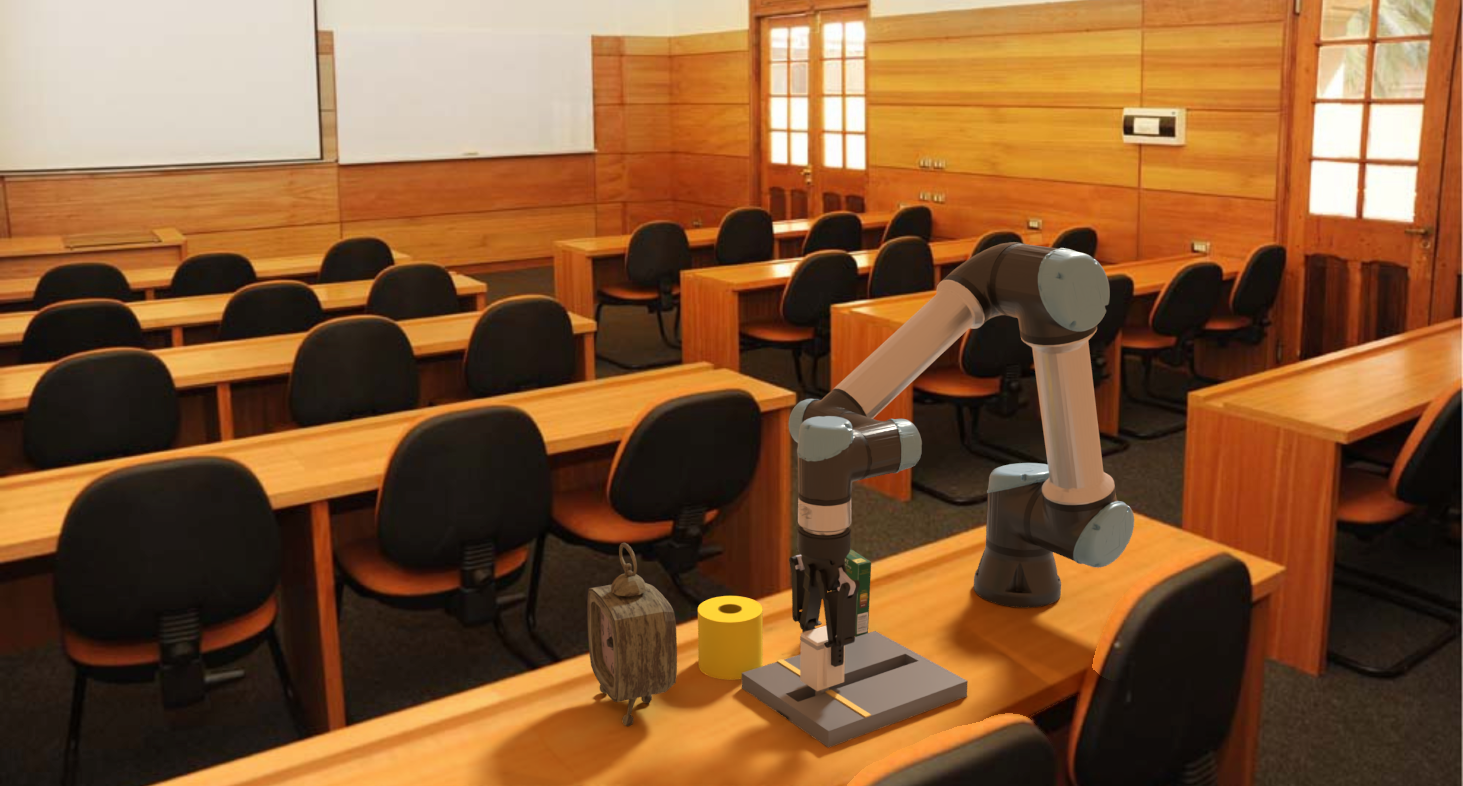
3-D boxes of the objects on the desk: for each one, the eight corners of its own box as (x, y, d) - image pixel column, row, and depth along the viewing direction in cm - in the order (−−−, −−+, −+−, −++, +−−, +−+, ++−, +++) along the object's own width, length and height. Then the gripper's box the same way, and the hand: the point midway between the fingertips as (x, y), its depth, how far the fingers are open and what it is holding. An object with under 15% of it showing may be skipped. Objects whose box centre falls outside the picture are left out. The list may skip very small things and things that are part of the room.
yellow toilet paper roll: (772, 657, 200) (772, 602, 198) (746, 684, 191) (746, 626, 189) (715, 646, 204) (715, 591, 202) (687, 672, 195) (686, 615, 193)
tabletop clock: (589, 690, 190) (584, 533, 184) (646, 678, 193) (643, 524, 187) (620, 734, 177) (615, 567, 171) (680, 721, 180) (678, 557, 174)
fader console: (874, 645, 204) (875, 629, 204) (966, 696, 187) (967, 679, 187) (741, 688, 190) (741, 671, 189) (828, 747, 173) (828, 729, 173)
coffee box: (870, 635, 208) (872, 560, 205) (855, 638, 207) (857, 563, 203) (844, 617, 215) (846, 544, 212) (830, 620, 214) (831, 547, 210)
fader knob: (827, 688, 188) (827, 624, 186) (844, 698, 185) (845, 634, 183) (799, 697, 186) (800, 633, 183) (816, 708, 182) (817, 643, 180)
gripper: (767, 514, 184) (767, 662, 189) (841, 550, 170) (839, 708, 176) (808, 504, 188) (807, 649, 193) (884, 538, 174) (880, 693, 180)
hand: (822, 677), depth 184 cm, fingers closed on fader knob, 4 cm apart
